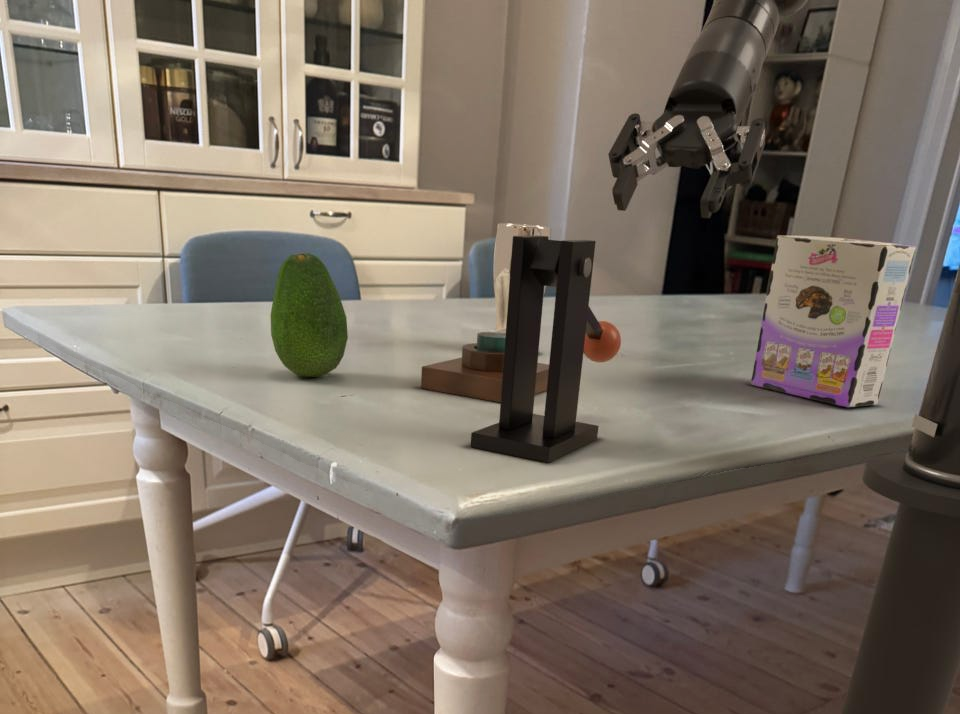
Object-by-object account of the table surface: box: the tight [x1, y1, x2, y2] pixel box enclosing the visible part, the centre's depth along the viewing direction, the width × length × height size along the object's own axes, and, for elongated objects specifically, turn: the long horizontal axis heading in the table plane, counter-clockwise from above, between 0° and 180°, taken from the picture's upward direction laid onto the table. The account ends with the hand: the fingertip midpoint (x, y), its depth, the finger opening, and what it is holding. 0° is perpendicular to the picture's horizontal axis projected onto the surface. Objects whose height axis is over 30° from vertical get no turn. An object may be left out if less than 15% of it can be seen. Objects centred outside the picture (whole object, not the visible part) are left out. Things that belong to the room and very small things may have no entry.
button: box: [476, 331, 506, 352], centre depth 96 cm, size 4×4×2 cm
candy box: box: [750, 234, 917, 408], centre depth 102 cm, size 14×6×16 cm, turn 35°
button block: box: [420, 342, 549, 404], centre depth 97 cm, size 10×12×4 cm
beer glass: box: [492, 222, 552, 334], centre depth 117 cm, size 7×7×15 cm
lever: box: [530, 239, 622, 364], centre depth 78 cm, size 17×4×4 cm
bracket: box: [470, 235, 600, 464], centre depth 74 cm, size 10×7×16 cm
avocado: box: [270, 252, 349, 379], centre depth 94 cm, size 8×8×12 cm
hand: (661, 207), depth 89 cm, fingers open, 8 cm apart
